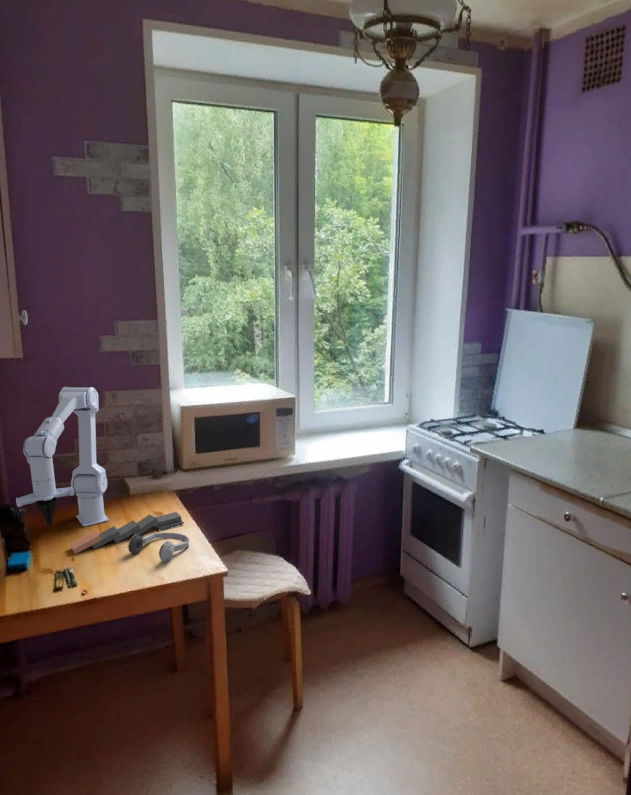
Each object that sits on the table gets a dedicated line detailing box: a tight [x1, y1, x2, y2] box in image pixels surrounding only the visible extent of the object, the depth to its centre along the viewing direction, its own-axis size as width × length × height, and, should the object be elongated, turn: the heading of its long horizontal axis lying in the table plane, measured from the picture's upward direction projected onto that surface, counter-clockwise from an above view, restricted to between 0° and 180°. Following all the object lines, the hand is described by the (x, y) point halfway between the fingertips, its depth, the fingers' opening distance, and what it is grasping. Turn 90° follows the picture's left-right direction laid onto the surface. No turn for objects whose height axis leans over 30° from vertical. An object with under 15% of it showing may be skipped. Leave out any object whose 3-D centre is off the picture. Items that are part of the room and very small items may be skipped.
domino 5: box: [154, 511, 182, 528], centre depth 191 cm, size 4×2×8 cm
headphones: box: [107, 532, 190, 563], centre depth 174 cm, size 17×6×20 cm
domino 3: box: [112, 519, 140, 544], centre depth 183 cm, size 4×2×8 cm
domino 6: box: [154, 519, 185, 531], centre depth 191 cm, size 4×2×8 cm
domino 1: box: [69, 529, 102, 555], centre depth 176 cm, size 4×2×8 cm
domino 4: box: [132, 513, 158, 537], centre depth 186 cm, size 4×2×8 cm
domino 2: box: [91, 525, 120, 550], centre depth 179 cm, size 4×2×8 cm
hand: (48, 524), depth 170 cm, fingers closed
